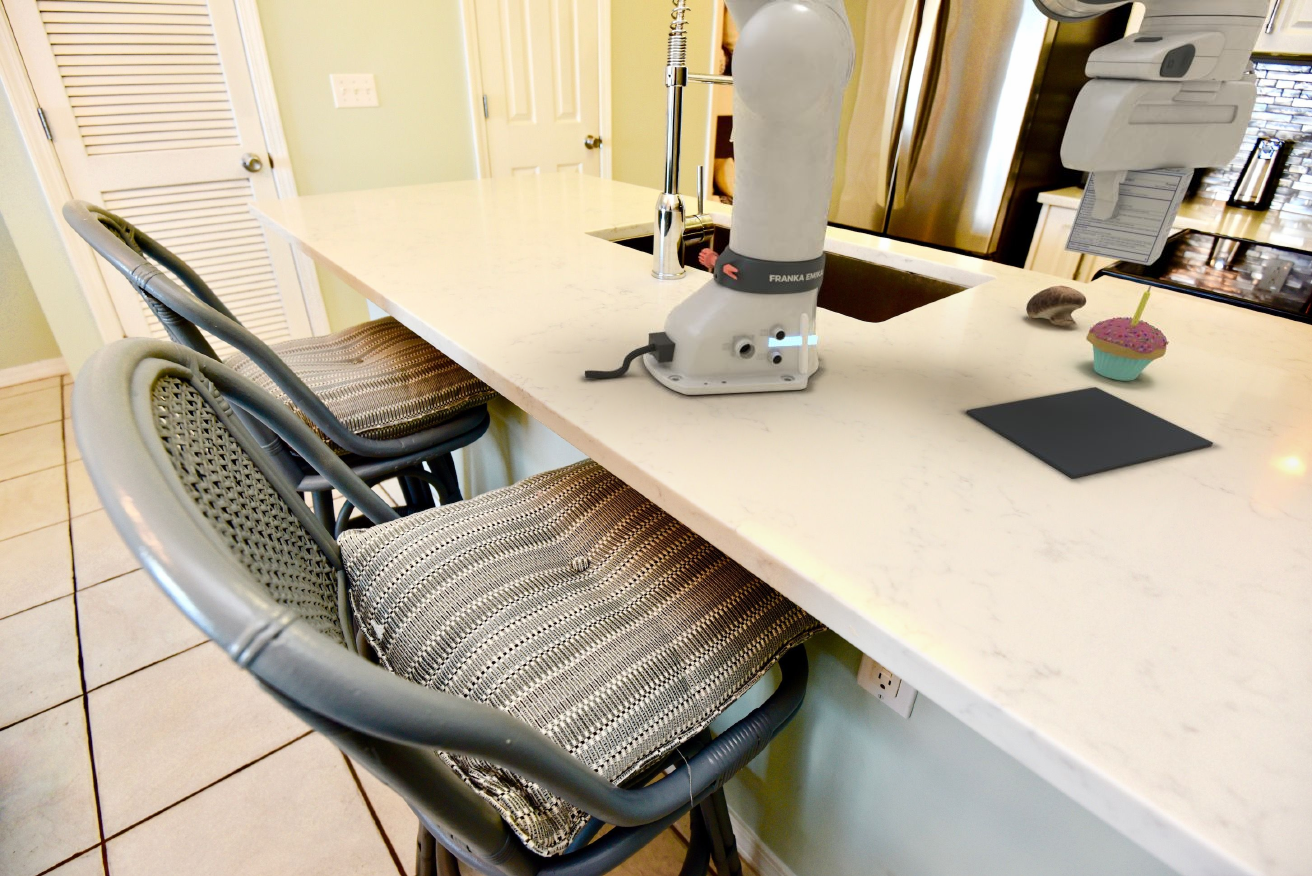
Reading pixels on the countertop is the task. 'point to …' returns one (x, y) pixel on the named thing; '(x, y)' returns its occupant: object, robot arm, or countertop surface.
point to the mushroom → (1056, 305)
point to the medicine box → (1131, 216)
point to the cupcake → (1126, 345)
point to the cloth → (1087, 431)
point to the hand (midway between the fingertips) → (1128, 216)
